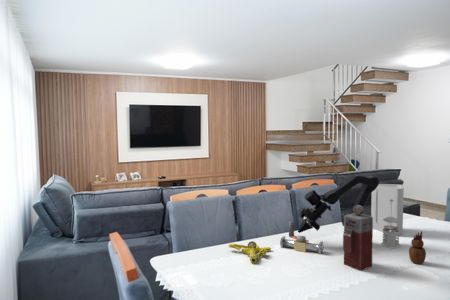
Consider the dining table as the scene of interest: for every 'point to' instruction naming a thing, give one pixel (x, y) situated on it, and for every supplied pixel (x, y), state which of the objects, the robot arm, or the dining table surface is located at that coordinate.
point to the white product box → (387, 206)
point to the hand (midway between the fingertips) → (298, 232)
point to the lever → (291, 233)
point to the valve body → (301, 245)
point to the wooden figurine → (417, 250)
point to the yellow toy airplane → (251, 250)
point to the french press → (393, 235)
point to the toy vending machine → (358, 239)
